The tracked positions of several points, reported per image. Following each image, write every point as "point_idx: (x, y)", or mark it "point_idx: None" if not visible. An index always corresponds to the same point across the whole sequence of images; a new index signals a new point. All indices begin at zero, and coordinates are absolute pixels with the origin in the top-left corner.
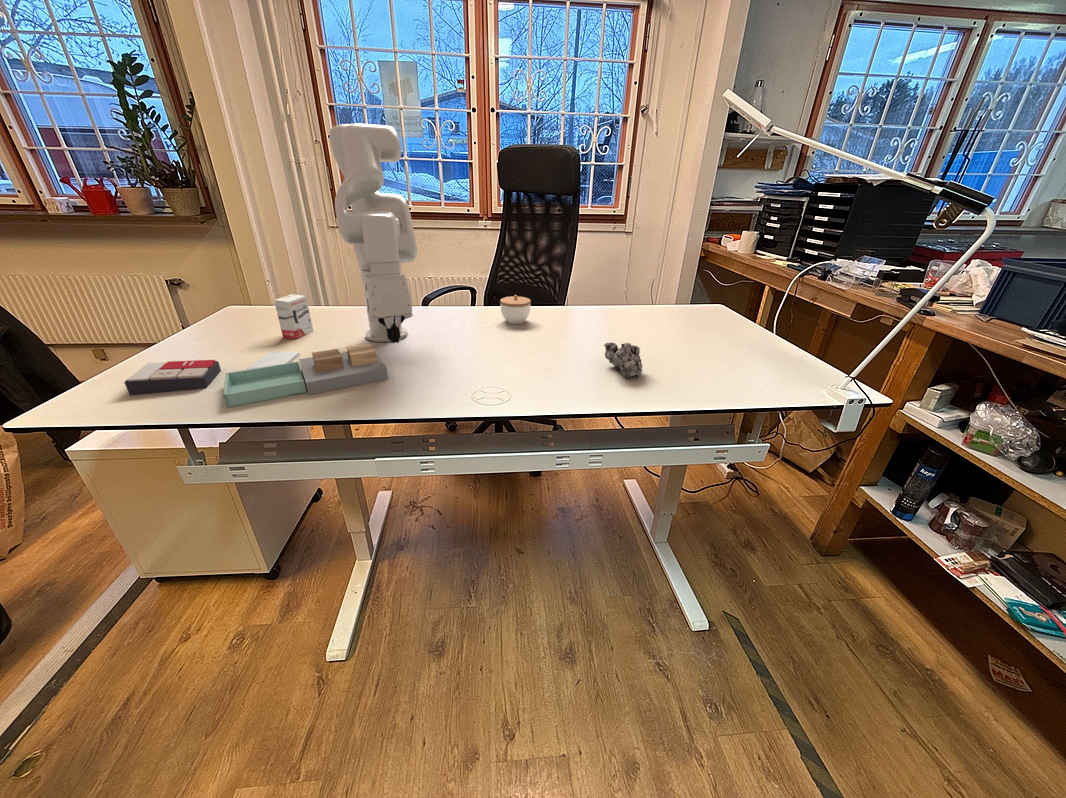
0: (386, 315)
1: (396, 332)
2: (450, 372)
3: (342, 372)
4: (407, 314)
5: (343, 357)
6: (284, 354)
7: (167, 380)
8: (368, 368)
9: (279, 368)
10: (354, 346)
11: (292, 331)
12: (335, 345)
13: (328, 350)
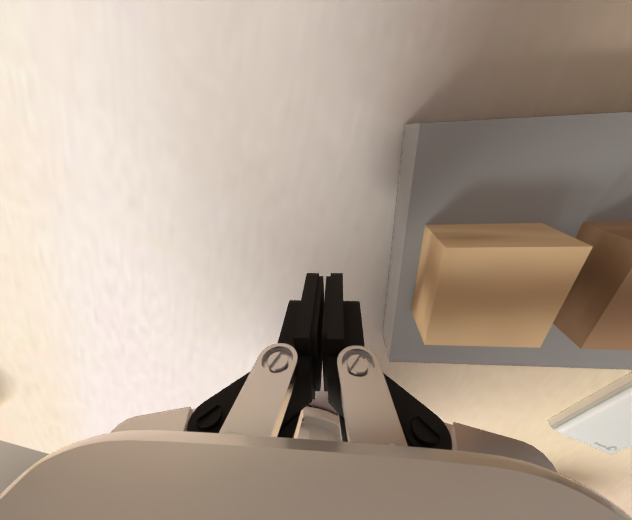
0: (407, 482)
1: (308, 311)
2: (135, 69)
3: (630, 164)
4: (113, 433)
5: None
6: (596, 431)
7: None
8: (498, 158)
9: None
10: (502, 342)
11: None
12: None
13: (630, 345)
